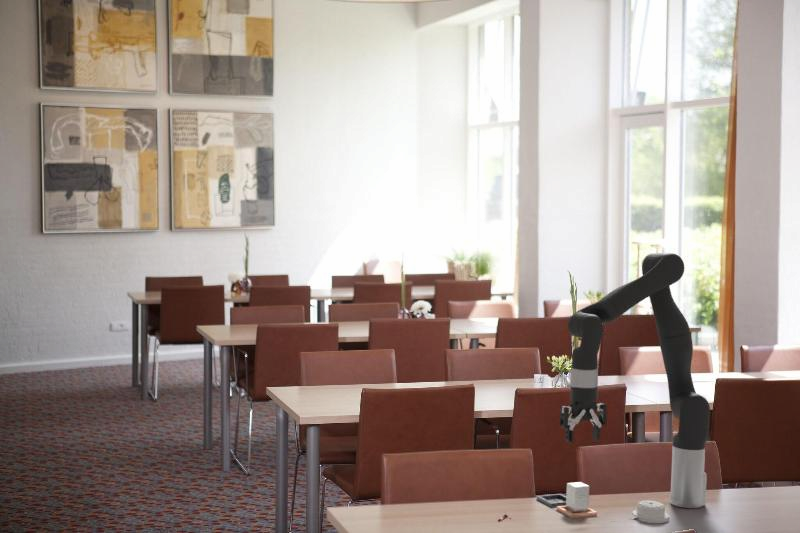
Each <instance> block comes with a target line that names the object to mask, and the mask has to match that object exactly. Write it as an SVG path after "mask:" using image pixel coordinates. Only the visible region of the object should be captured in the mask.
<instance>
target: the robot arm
mask: <svg viewBox="0 0 800 533" xmlns="http://www.w3.org/2000/svg"><path fill="white" fill-rule="evenodd" d="M641 264H642V265H641V272H642V275H641V276H639V277H638V278H636V279H633V280H632V281H629V282H627V283H625V284H623V285H620V286H618V287H617V288H614V289H613V290H612V291H610V292H608V293H607V294H606V295H604V296H603V297H602V298H600V299H599V300H598V301H596V302H593V303H592V304H589V305H587V306H585V307H583V308H581V309H579V310H577V311H576V312H574V313H573V314H572V315H571V316H570V318H569V319H568V321H567V329H568V332H569V334H570V335H572V336H573V337H575V338H578V339H580V338H581V341H580V345H579V346H576V347H574V348H573V350H572V353H571V371H570V390H569V391H570V394H569V398H570V406H566V405H561V406H560V411H559V427H560V428H563V429H565V441H566V442H567V443H568V444H574V428H575V426H576V425H578V424H579V423H580V422H584V421H589V422H591V424H592V425H593V426H592V440H593V441H594V442H595V441H596V442H598V441H599V440H600V438H601V428H602V426H607V424H608V419H607V418H608V415H607V404H606V403H603V402H598V395H599V394H598V392H599V387H598V386H599V384H598V383H599V374H598V354H599V351H600V348H601V344H602V340H603V336H604V331H605V330H604V324H609V323H612V322H614V321H615V320H617V319H618V318H620V317H621V316H622V315H624V314H626V313H627V311H629V310H630V309H632V308H633V307H634V306H637V304H639V303H641V302H642V301H643V300H645V299H647V298H648V297H649V300H650V303H651V304H650V305H651V307H652V312H653V317H654V321H655V326H656V331H657V337H658V338H657V339H658V342H659V347H660V351H661V354H662V355H661V356H662V361H663V365H664V369H665V374H666V378H667V384H668V385H667V386H668V396H669V408H670V411H671V413H672V415H673V416H674V417H675V418H676V419H677V420H678V430H677V433H676V434H674V435H673V437H672V450H671V452H672V453H671V476H670V477H671V478H670V497H669V500H670V501H669V502H670V504H671V505H673V506H674V507H675V506H676V507H679V508H685V509H698V508H702V507H703V506H706V497H707V495H706V494H707V479H708V478H707V477H708V475H707V473H706V472H705V463H706V462H705V459H706V458H705V457H706V443H707V440H708V438H709V434H710V432H709V431H710V422H711V421H710V420H711V407H710V403H709V401H708V400H707V398H706V397H704V396H702V395H700V394H698V393H697V392H696V389H695V386H694V382H693V378H692V372H691V370H692V369H691V368H692V360H693V355H694V345H693V338H692V335H691V334H692V333H691V329H690V326H689V322H688V321H687V319H686V317H685V315H684V314H683V313H682V311H681V310H680V308H679V307H678V305H677V304H676V302H675V300H674V298H673V295H672V291H671V287H670V286H671V285H673V284H675V283H677V282H679V280H681V279H682V277H683V275H684V274H685V263H684V261H683V259H682V258H681V256H679V255H678V254H677V253H672V252H655V253H654V252H651V253H649V254H647V255H646V256H645V257H644V258H643V261H642V263H641ZM597 402H598V403H597ZM596 412H597V414H596ZM569 414H570V415H569ZM597 415H598V416H597Z"/></svg>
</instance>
